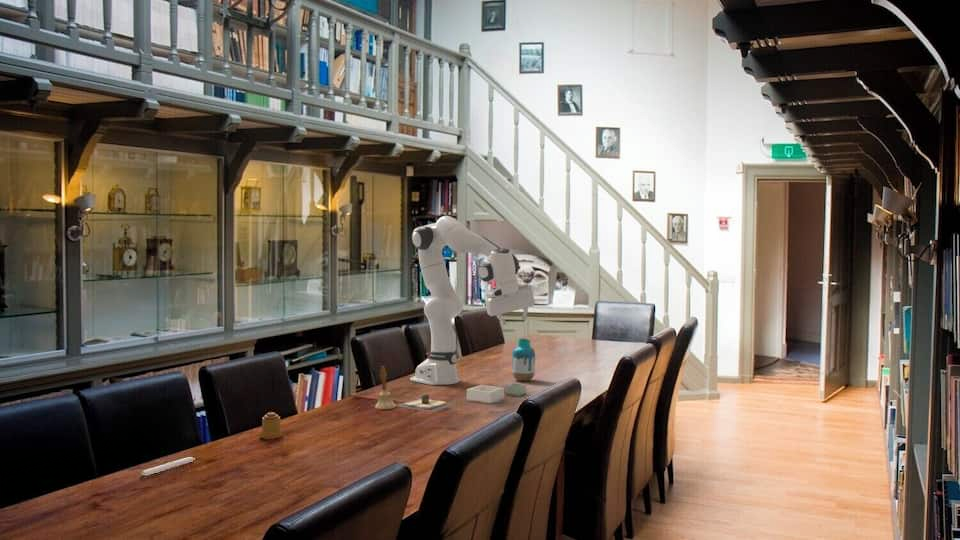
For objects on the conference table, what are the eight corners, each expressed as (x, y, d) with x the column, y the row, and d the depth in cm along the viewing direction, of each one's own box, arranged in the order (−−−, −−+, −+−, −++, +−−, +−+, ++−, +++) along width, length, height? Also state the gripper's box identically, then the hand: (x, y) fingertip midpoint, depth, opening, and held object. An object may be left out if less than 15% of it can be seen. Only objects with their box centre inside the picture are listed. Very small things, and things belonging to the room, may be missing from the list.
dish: (466, 401, 325) (466, 389, 325) (481, 396, 335) (481, 384, 334) (489, 405, 320) (490, 392, 319) (504, 400, 329) (504, 387, 329)
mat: (394, 406, 314) (394, 405, 314) (418, 399, 327) (418, 398, 327) (432, 413, 304) (432, 411, 304) (455, 405, 318) (455, 404, 318)
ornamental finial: (283, 439, 265) (259, 440, 263) (282, 433, 273) (259, 434, 271) (283, 415, 265) (259, 416, 263) (282, 410, 272) (259, 411, 270)
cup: (506, 394, 339) (506, 385, 339) (513, 392, 344) (513, 383, 344) (518, 396, 336) (518, 387, 336) (525, 394, 341) (525, 384, 341)
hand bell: (392, 409, 308) (390, 368, 306) (371, 409, 309) (369, 368, 308) (399, 404, 316) (396, 364, 314) (378, 404, 317) (376, 364, 316)
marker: (192, 461, 240) (192, 453, 240) (197, 462, 239) (197, 455, 239) (140, 477, 225) (140, 469, 225) (145, 478, 224) (145, 470, 224)
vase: (535, 383, 365) (536, 341, 364) (511, 382, 365) (512, 340, 364) (534, 378, 376) (535, 337, 374) (511, 378, 376) (512, 337, 375)
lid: (403, 405, 314) (403, 395, 314) (421, 400, 324) (422, 390, 324) (428, 409, 308) (428, 399, 307) (446, 404, 318) (446, 394, 318)
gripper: (527, 282, 331) (533, 315, 333) (482, 293, 324) (488, 327, 325) (534, 283, 326) (540, 316, 327) (488, 294, 318) (494, 328, 319)
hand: (514, 322), depth 326 cm, fingers open, 8 cm apart
